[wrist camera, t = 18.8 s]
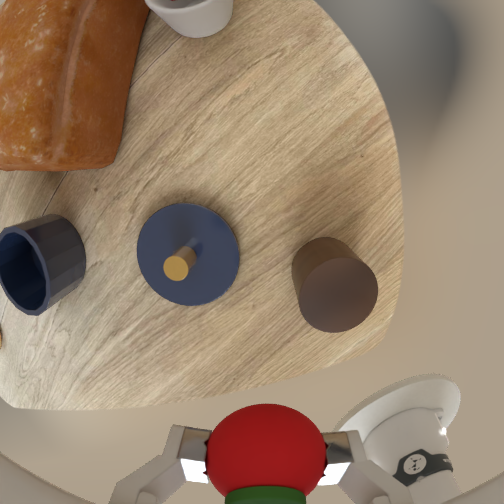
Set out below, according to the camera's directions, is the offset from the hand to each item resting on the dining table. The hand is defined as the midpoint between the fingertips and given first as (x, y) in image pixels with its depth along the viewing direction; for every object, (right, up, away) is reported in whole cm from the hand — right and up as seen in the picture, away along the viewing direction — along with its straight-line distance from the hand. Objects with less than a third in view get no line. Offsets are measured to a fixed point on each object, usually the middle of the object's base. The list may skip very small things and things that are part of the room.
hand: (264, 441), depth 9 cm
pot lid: (-7, +7, +20) cm, 22 cm away
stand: (+7, +5, +21) cm, 22 cm away
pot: (-26, +7, +22) cm, 34 cm away
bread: (-19, +29, +15) cm, 38 cm away
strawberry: (0, 0, +1) cm, 1 cm away
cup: (-5, +33, +13) cm, 36 cm away
